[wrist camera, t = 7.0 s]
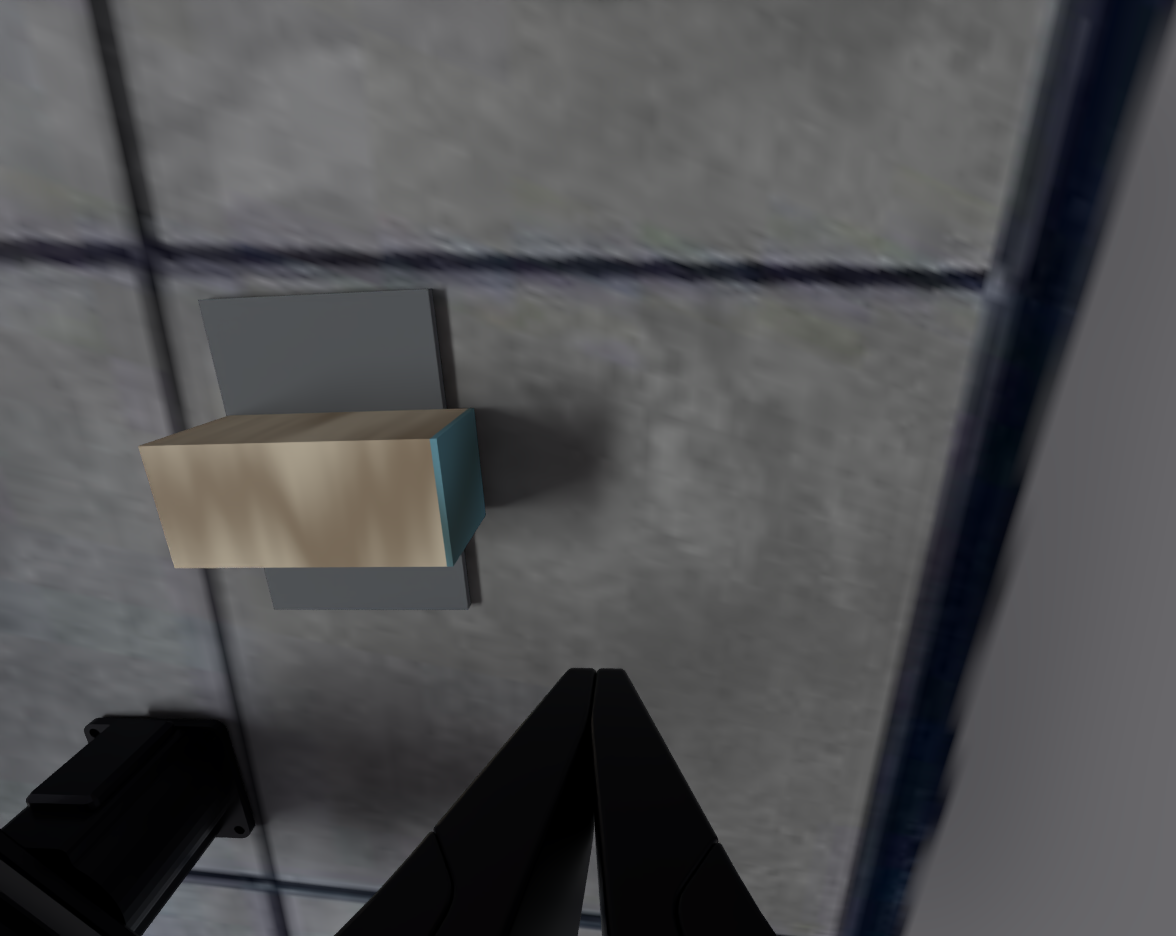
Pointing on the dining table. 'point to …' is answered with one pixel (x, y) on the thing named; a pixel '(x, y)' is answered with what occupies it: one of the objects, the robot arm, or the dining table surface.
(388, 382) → the mat
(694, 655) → the dining table surface
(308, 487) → the oak block
